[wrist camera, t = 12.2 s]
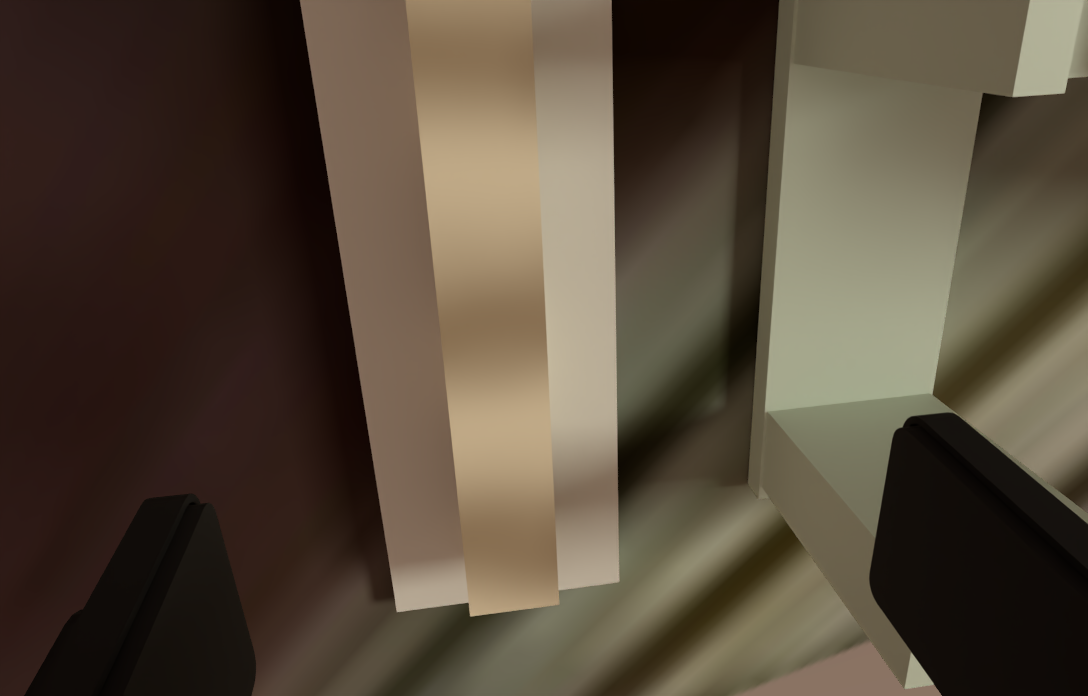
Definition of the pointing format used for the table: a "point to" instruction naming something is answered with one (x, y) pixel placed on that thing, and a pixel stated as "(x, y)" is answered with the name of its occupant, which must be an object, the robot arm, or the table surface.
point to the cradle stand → (874, 248)
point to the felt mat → (410, 293)
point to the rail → (489, 288)
